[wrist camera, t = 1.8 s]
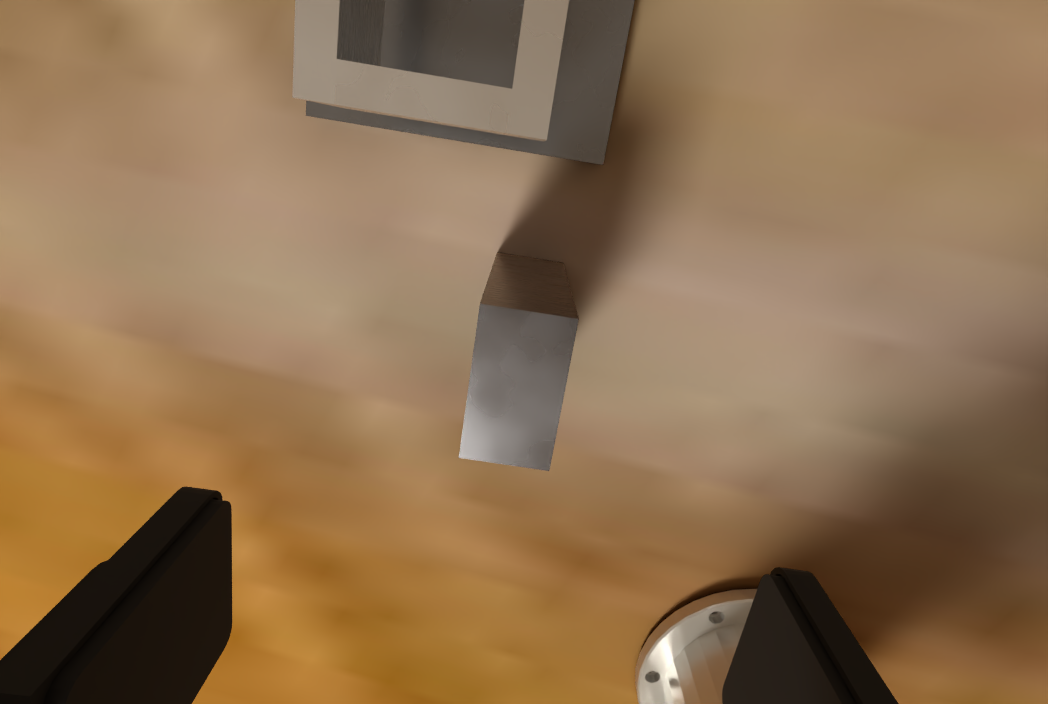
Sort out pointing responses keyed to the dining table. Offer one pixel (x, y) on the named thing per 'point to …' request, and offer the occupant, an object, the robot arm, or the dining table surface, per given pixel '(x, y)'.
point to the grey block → (519, 363)
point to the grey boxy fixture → (467, 69)
